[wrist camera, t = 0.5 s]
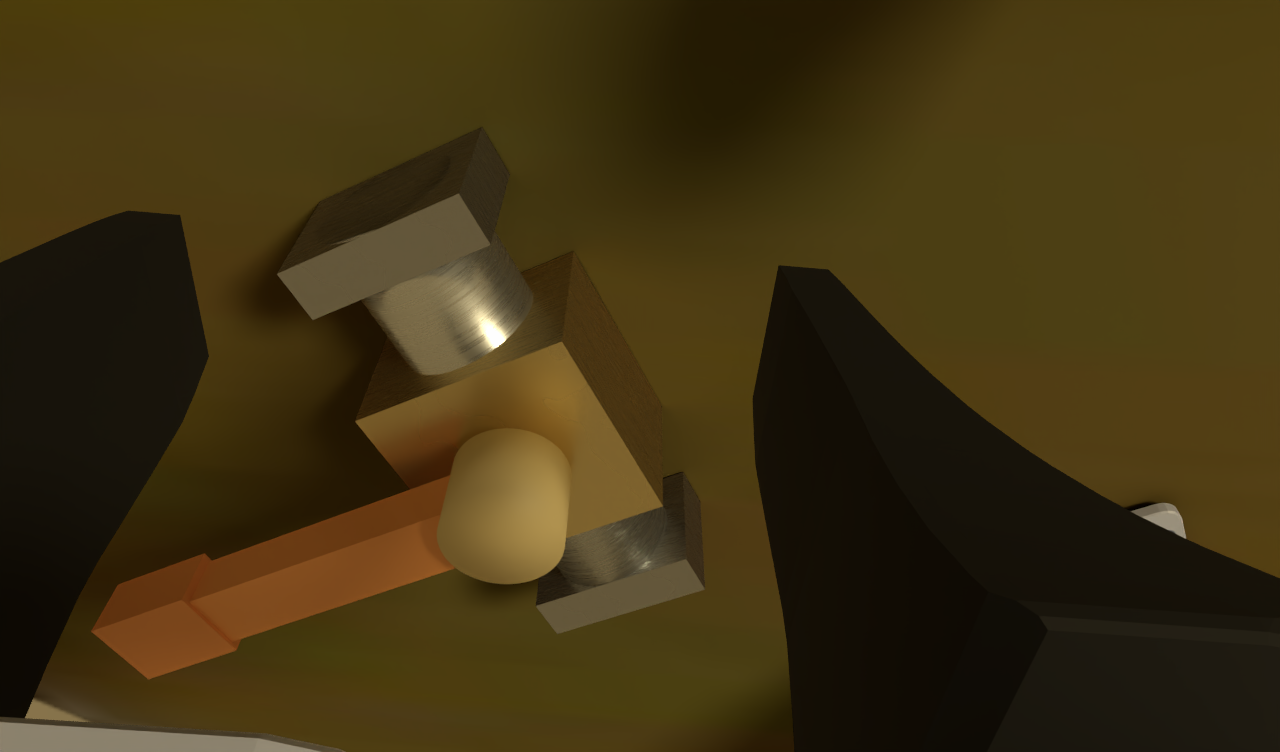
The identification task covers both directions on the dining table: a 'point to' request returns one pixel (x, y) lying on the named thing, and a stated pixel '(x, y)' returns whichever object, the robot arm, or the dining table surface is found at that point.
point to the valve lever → (354, 556)
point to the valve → (503, 370)
